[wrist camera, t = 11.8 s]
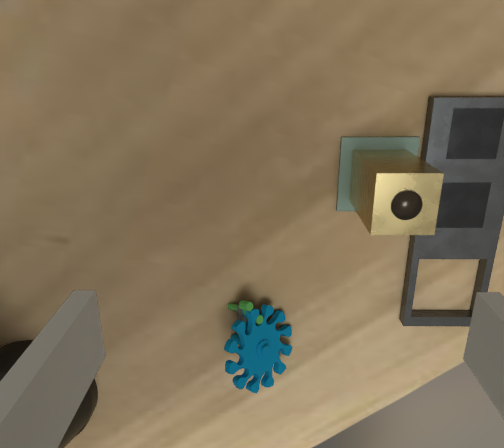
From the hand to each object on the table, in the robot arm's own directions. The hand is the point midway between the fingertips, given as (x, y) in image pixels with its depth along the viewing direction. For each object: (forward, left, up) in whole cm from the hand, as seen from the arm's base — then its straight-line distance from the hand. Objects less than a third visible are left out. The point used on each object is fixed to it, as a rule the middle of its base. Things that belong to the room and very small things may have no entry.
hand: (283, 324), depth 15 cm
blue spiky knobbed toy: (-1, -22, -33) cm, 40 cm away
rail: (+20, -8, -33) cm, 39 cm away
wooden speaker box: (+12, -3, -32) cm, 34 cm away
